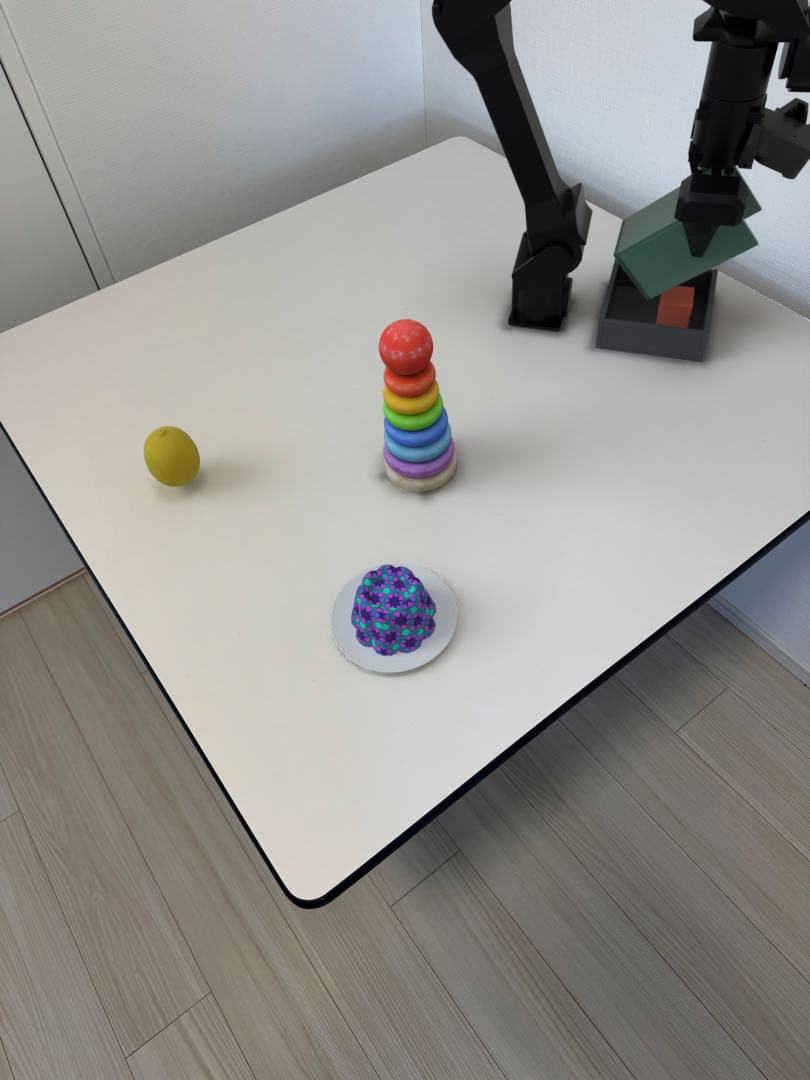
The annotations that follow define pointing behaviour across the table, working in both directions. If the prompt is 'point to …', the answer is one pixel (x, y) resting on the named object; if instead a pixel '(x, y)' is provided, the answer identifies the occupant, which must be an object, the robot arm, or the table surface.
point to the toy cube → (675, 307)
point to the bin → (654, 319)
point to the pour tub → (675, 245)
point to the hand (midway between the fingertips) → (700, 236)
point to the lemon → (171, 456)
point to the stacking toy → (414, 411)
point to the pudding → (393, 617)
